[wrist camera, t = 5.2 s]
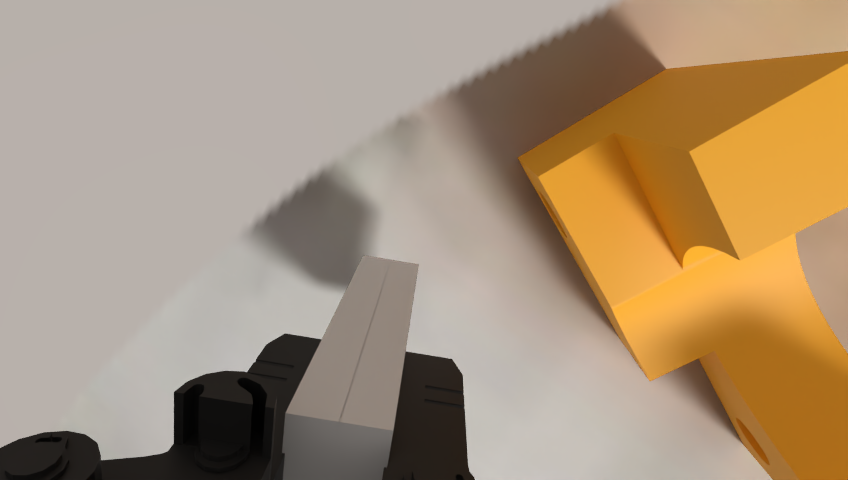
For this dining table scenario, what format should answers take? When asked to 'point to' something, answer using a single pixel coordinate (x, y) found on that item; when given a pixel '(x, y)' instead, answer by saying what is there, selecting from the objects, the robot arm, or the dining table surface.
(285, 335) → the robot arm
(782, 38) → the dining table surface
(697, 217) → the orange blocky piece
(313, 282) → the dining table surface
